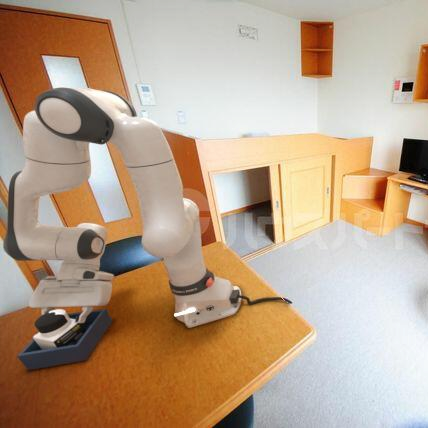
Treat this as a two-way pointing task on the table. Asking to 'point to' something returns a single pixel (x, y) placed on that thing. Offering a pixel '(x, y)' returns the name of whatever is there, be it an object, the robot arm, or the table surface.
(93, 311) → the bin
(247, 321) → the table surface
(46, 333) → the medicine bottle
